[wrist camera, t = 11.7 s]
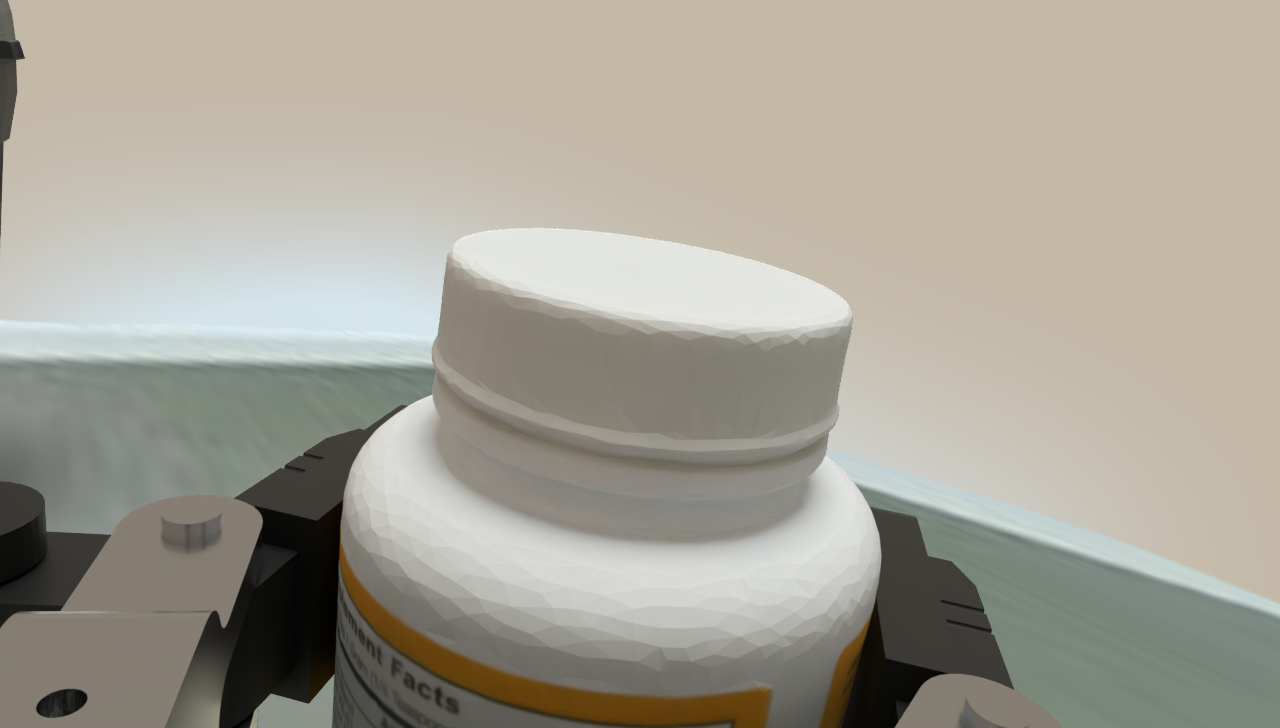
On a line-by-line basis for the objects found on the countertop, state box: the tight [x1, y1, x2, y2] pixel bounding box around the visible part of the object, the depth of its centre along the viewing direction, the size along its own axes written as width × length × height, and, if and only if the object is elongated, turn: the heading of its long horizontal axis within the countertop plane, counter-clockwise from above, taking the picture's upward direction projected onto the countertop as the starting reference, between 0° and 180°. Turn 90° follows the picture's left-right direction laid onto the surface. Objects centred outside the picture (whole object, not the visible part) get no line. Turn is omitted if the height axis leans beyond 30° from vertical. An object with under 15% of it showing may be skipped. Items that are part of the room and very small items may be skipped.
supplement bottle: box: [332, 228, 881, 728], centre depth 10 cm, size 6×6×10 cm
